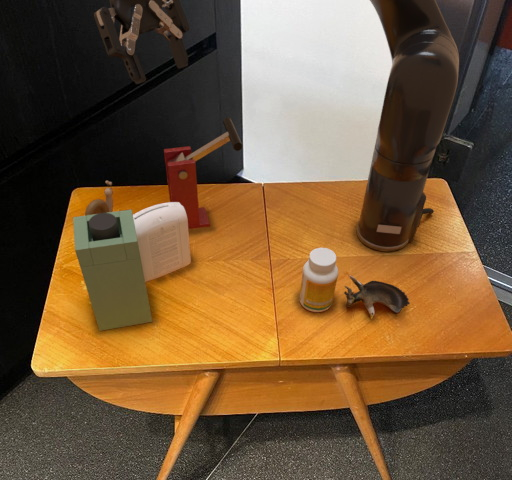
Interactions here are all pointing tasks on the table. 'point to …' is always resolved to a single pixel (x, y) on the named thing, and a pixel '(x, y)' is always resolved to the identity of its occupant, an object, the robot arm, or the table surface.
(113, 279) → the box
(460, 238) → the table surface
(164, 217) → the photo printer
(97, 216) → the button
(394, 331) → the table surface
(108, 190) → the snail figurine
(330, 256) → the supplement bottle
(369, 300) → the toy triceratops
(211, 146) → the wooden lever
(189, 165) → the red lever stand
